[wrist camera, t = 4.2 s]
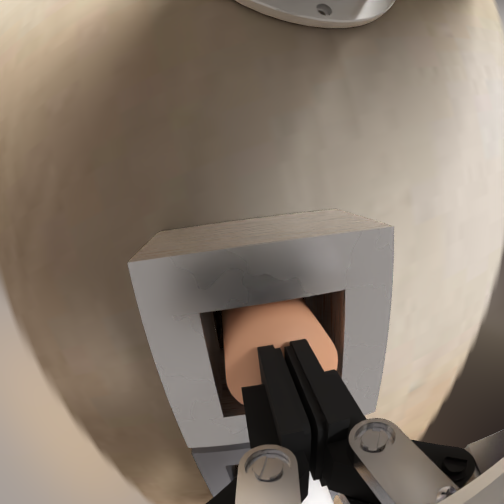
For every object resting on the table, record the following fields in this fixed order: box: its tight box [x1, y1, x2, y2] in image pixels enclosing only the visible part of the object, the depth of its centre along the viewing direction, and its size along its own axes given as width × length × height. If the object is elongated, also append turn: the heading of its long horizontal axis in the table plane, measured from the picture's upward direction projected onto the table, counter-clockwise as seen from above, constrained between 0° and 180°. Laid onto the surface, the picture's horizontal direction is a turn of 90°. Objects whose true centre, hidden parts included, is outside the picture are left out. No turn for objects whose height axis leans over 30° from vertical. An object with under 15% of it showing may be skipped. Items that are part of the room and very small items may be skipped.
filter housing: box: [192, 442, 338, 497], centre depth 17 cm, size 10×10×4 cm
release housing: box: [127, 209, 394, 448], centre depth 13 cm, size 9×9×6 cm
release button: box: [222, 298, 338, 405], centre depth 12 cm, size 4×4×5 cm
